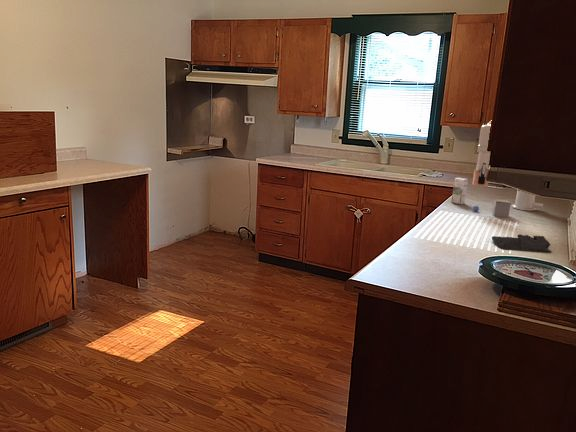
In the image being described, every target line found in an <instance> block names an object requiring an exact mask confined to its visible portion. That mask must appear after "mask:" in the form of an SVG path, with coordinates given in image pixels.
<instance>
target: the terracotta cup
mask: <svg viewBox="0 0 576 432" xmlns="http://www.w3.org/2000/svg"><path fill="white" fill-rule="evenodd" d="M486 173H487V171H486ZM472 176H473V177H472V183H471V184H472V185H473V186H475V187H483V188H488V186H489V182H488V183H487V182H486V174H485V183H484V184H478V179H479V176H480V170H479V171H477V169H476V168H474V171H473V175H472Z"/></svg>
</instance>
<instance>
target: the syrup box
mask: <svg viewBox="0 0 576 432" xmlns="http://www.w3.org/2000/svg"><path fill="white" fill-rule="evenodd" d="M468 182H469V179H468V178H464V177H455V178H454V183H453V187H452V189H453V190H452V194H451V204H456V205H463V204H465V203H466V196H467V195H466V194H467V190H468V189H467V188H468Z"/></svg>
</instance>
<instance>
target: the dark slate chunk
mask: <svg viewBox="0 0 576 432" xmlns="http://www.w3.org/2000/svg"><path fill="white" fill-rule="evenodd" d="M516 236H517V237H512V236H496V235H494V236H491V240H492V241H493V243H495V245H496V246H497V247H498V248H499V249H502V250H504V251H514V252H515V251H516V252H530V253H542V254H543V253H544V254H551V253H552V251H551V250H549V247H550V246H551V243H550V241H549V240H547V239H546V238H545V236H543V235H533V237H532V236H530V235H528V234H526V235H523V234H521V233H519V234H517V235H516Z"/></svg>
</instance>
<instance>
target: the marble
mask: <svg viewBox="0 0 576 432" xmlns="http://www.w3.org/2000/svg"><path fill="white" fill-rule="evenodd" d="M479 210H480V208H479V205H473V206H472V211H473V212H478V211H479Z"/></svg>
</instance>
